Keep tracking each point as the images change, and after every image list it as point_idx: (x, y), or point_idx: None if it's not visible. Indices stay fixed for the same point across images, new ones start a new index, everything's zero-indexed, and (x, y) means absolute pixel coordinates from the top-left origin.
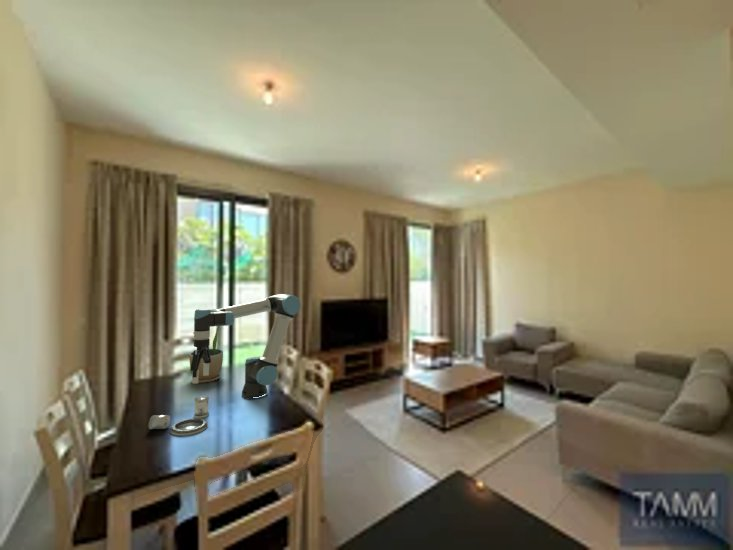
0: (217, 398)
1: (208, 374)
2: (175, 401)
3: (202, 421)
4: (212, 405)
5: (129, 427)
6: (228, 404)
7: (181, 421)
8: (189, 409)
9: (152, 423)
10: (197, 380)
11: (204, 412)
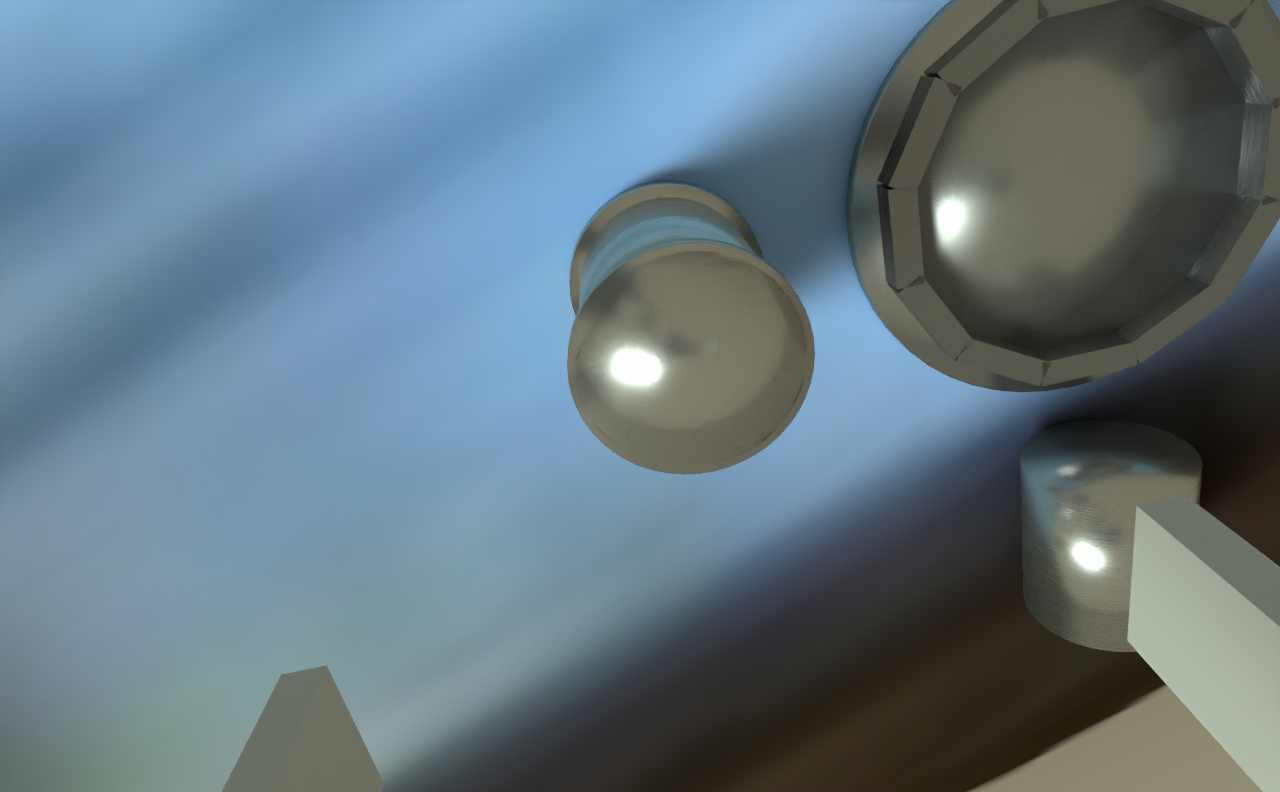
0: (46, 429)
1: (295, 693)
2: None
3: (966, 81)
4: (301, 345)
5: (1023, 735)
6: (167, 131)
7: (999, 348)
8: (517, 530)
9: None
10: (1259, 561)
11: (721, 217)
